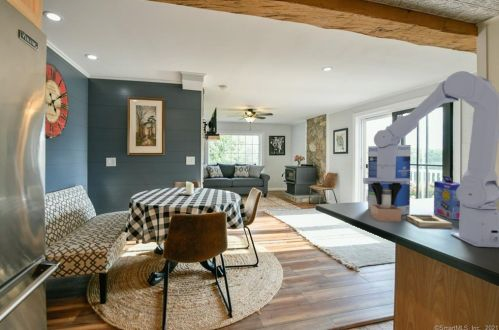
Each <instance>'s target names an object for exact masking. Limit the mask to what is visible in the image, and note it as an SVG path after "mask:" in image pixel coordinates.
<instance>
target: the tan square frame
mask: <svg viewBox="0 0 499 330" xmlns="http://www.w3.org/2000/svg"><path fill="white" fill-rule="evenodd" d="M405 220H406V221H408V222H410V223H411V224H414V225H415V226H417V227H419V228H438V229H442V228H443V229H453V228H452V227H453V223H452V222H450V221H448V220H445V219H443V218H441V217H438V216H436V215H431V214H422V213H421V214H416V213H415V214H414V213H411V214H405Z"/></svg>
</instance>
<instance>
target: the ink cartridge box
mask: <svg viewBox="0 0 499 330" xmlns="http://www.w3.org/2000/svg"><path fill="white" fill-rule="evenodd" d="M442 178H443V180H435V181H433V186H434V187H433V213H434V214H437V215H439V216H442V217H444V218H446V219H449V220H459V214H460V201H459V200H458V198H457V196H456V190H457V188H458V187H459V185H460V184H461V182H455V181H453V180H452V178H451V177H450V176H446V175H442Z"/></svg>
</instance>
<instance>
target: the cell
mask: <svg viewBox="0 0 499 330" xmlns="http://www.w3.org/2000/svg"><path fill="white" fill-rule="evenodd" d="M391 194H392V190H390V189H387V188H383V189H382V203H381V205H379V208H380V209H391Z"/></svg>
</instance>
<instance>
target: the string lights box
mask: <svg viewBox="0 0 499 330" xmlns="http://www.w3.org/2000/svg"><path fill="white" fill-rule="evenodd" d="M411 146H412V145H411V144H398V146H397V151H396V177H395V178H408V179H410V180H411V149H412V147H411ZM367 154H368V155H367V157H368V160H367V163H368V165H367V178H377V146H376V145H374V146H373V145H371V146H369V145H368V147H367ZM381 182H386V181H381ZM380 185H381V186H383V188H387V189H389V186H388V184H380ZM400 185H402V188H401V190H400V191H399V193H398V194H397V197H396V199H395V202H394V205H393V206H395V207H397V208H399V209H401V216H404V215H405V216H406V215H411V214H410V212H411V211H410V210H411V209H410V208H411V207H410V205H411V204H410V203H411V201H410V200H411V194H410V193H411V183H410V184H400ZM371 205H378V204H377V200H376V196H375V193H374V191H373V189H372V187H371V184H367V210H371Z"/></svg>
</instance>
